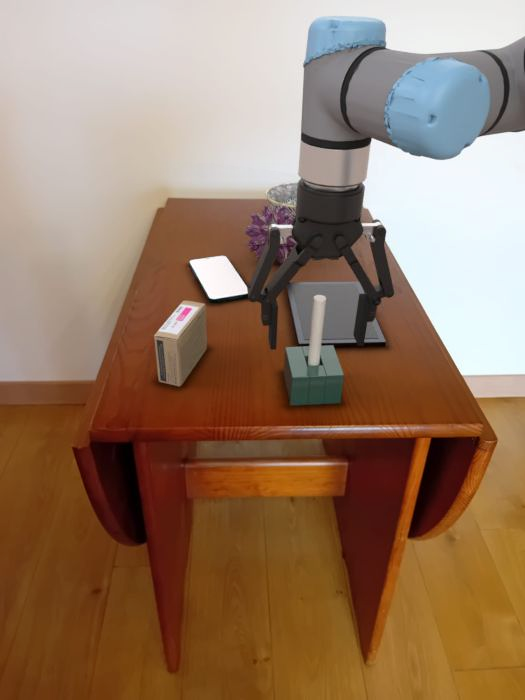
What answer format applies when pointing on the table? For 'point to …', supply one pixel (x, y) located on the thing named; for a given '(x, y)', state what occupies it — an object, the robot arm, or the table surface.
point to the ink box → (181, 342)
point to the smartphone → (218, 279)
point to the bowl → (283, 197)
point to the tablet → (331, 314)
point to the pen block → (313, 376)
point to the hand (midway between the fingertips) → (315, 342)
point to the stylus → (316, 330)
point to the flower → (261, 230)
